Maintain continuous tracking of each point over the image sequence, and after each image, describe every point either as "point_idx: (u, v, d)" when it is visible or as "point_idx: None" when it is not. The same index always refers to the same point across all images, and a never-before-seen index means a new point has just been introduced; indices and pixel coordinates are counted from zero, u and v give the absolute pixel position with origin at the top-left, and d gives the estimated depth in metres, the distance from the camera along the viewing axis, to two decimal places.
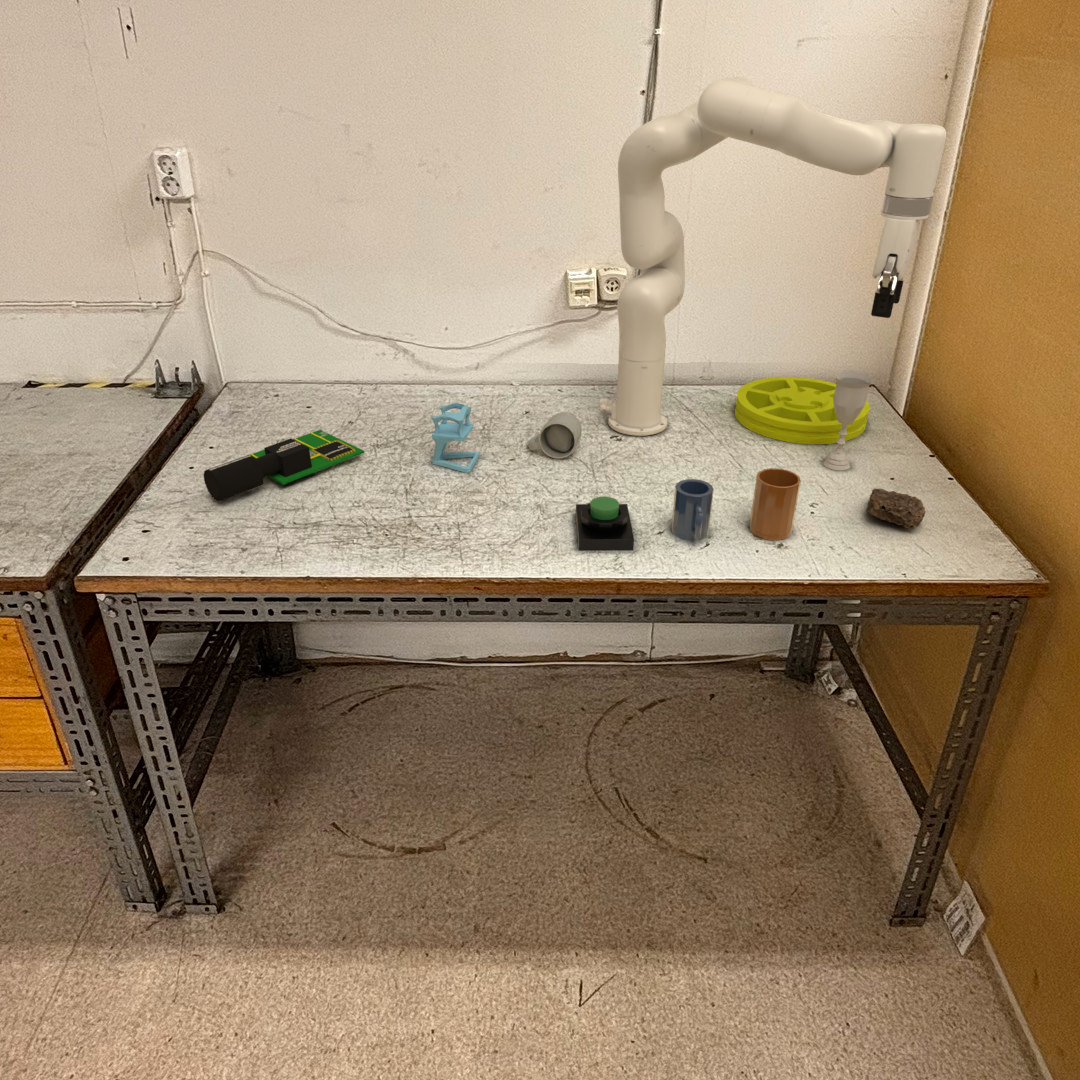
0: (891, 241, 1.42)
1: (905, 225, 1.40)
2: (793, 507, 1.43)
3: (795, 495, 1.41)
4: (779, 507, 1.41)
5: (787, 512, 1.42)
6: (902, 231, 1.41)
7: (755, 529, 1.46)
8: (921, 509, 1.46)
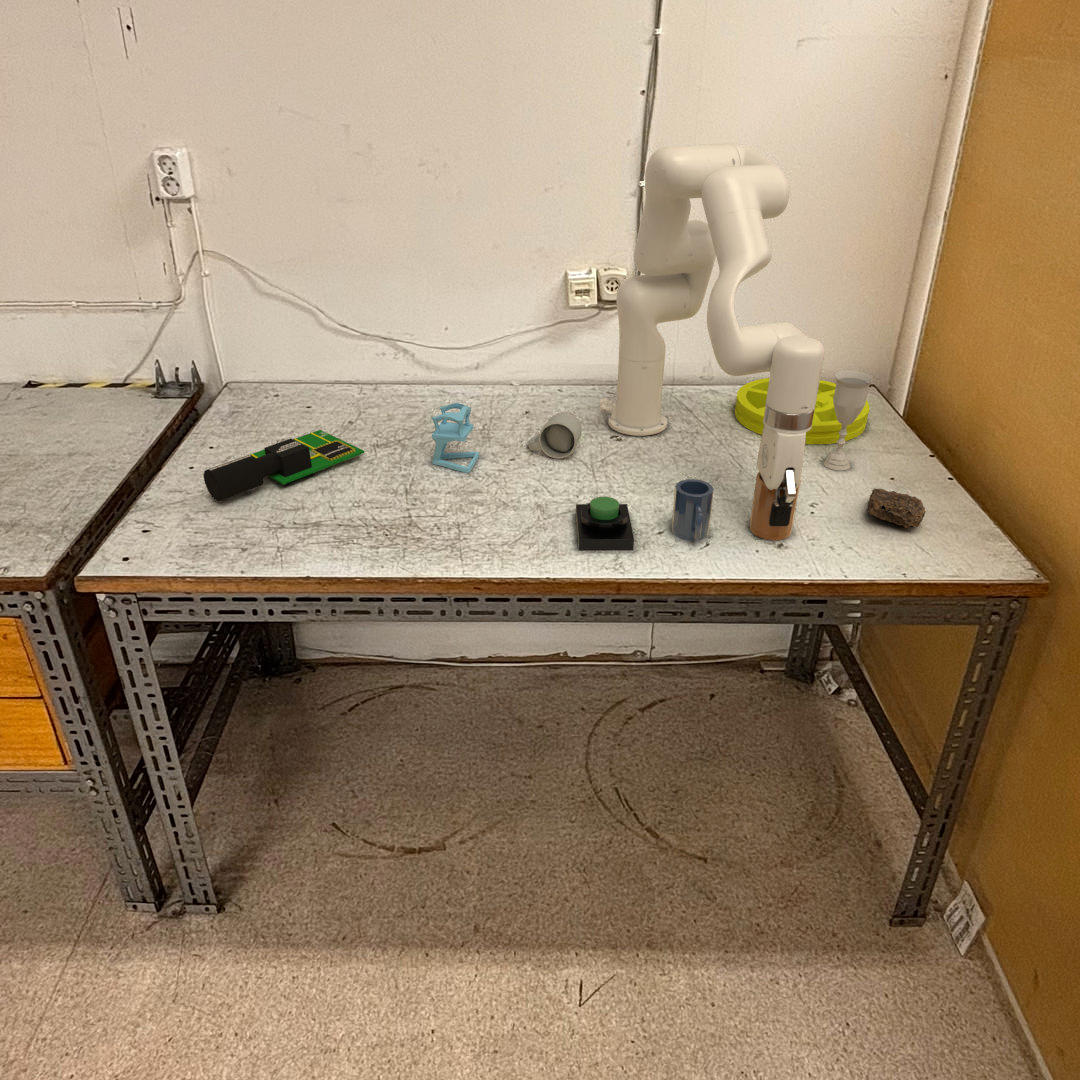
0: (787, 456, 1.35)
1: (798, 439, 1.34)
2: (793, 507, 1.43)
3: None
4: None
5: None
6: (797, 446, 1.35)
7: (755, 529, 1.46)
8: (921, 509, 1.46)
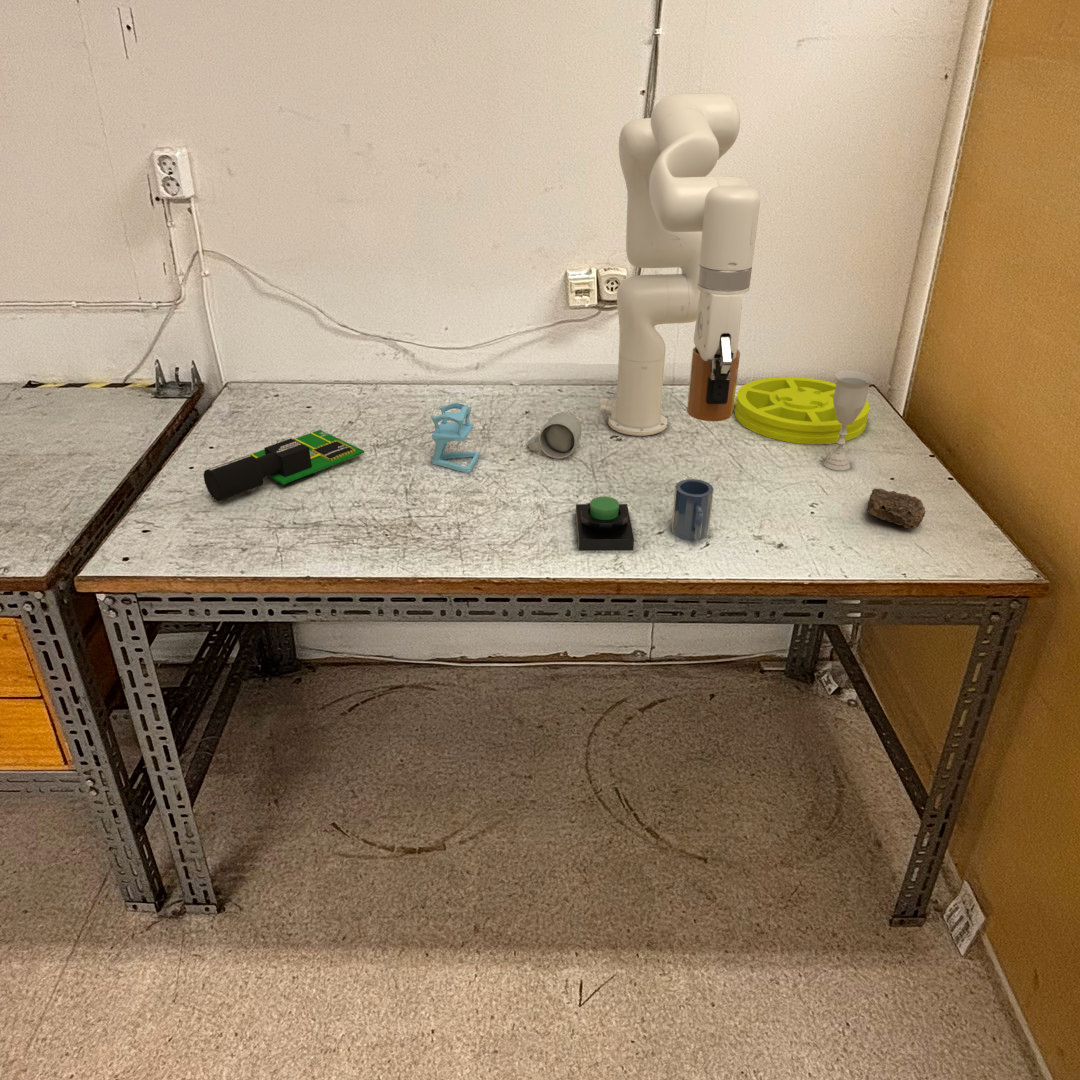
0: (722, 320, 1.23)
1: (734, 300, 1.23)
2: (732, 383, 1.31)
3: (733, 370, 1.30)
4: None
5: None
6: (732, 308, 1.23)
7: (692, 410, 1.34)
8: (921, 509, 1.46)
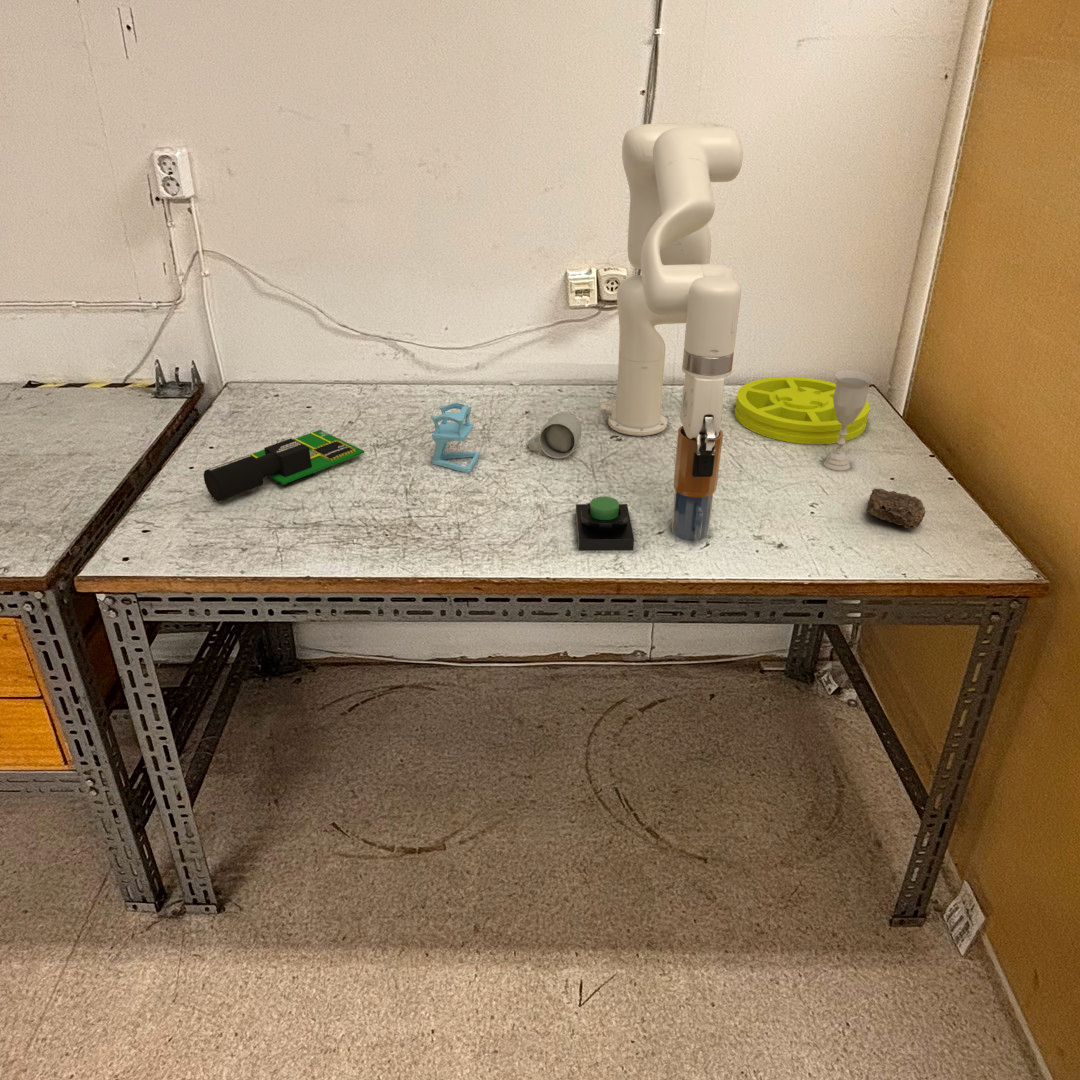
0: (705, 402, 1.30)
1: (716, 384, 1.29)
2: (715, 463, 1.38)
3: (716, 450, 1.36)
4: None
5: None
6: (715, 391, 1.29)
7: (678, 486, 1.41)
8: (921, 509, 1.46)
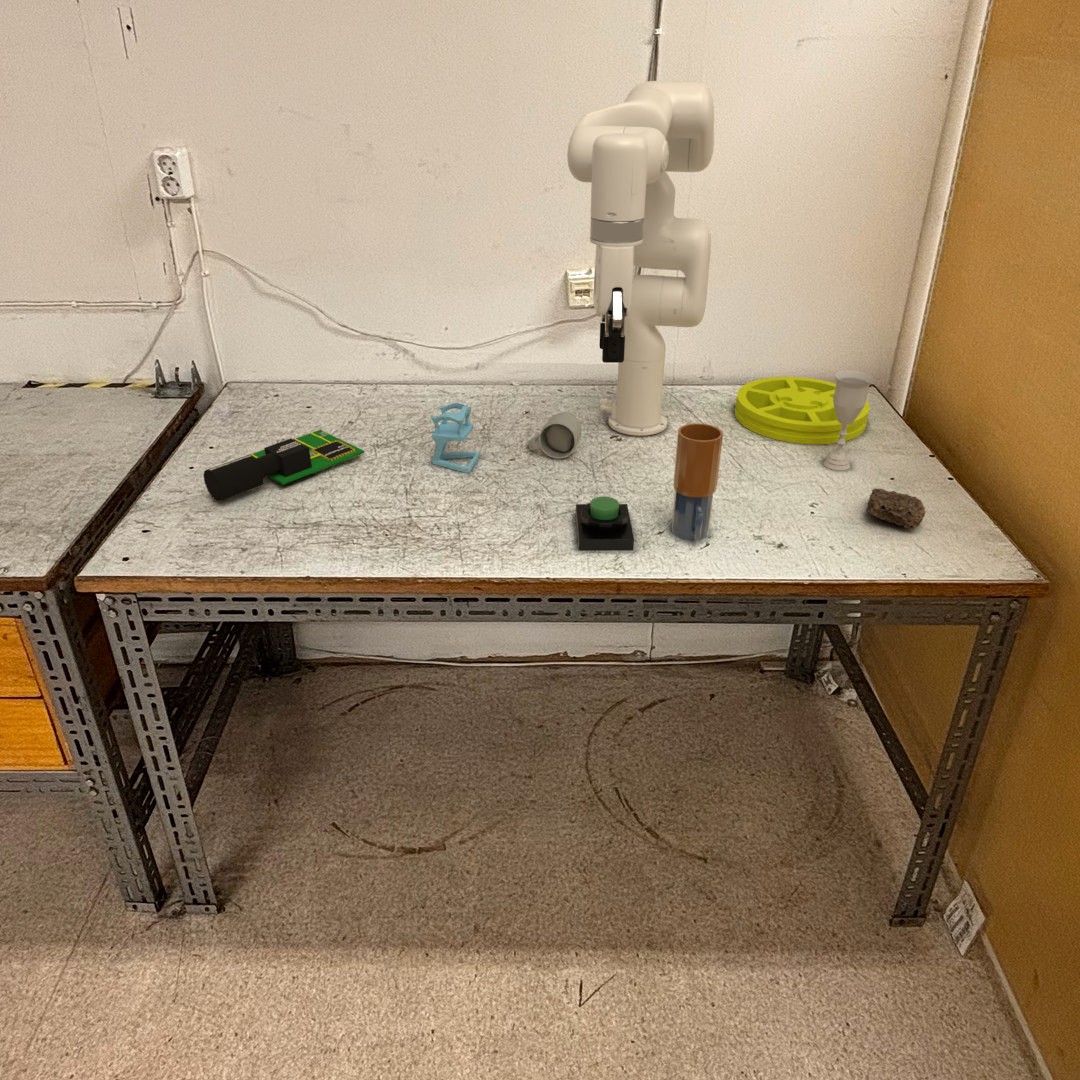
0: (613, 273, 1.20)
1: (624, 253, 1.19)
2: (715, 463, 1.38)
3: (716, 450, 1.36)
4: (700, 462, 1.36)
5: (709, 468, 1.37)
6: (623, 260, 1.19)
7: (678, 486, 1.41)
8: (921, 509, 1.46)
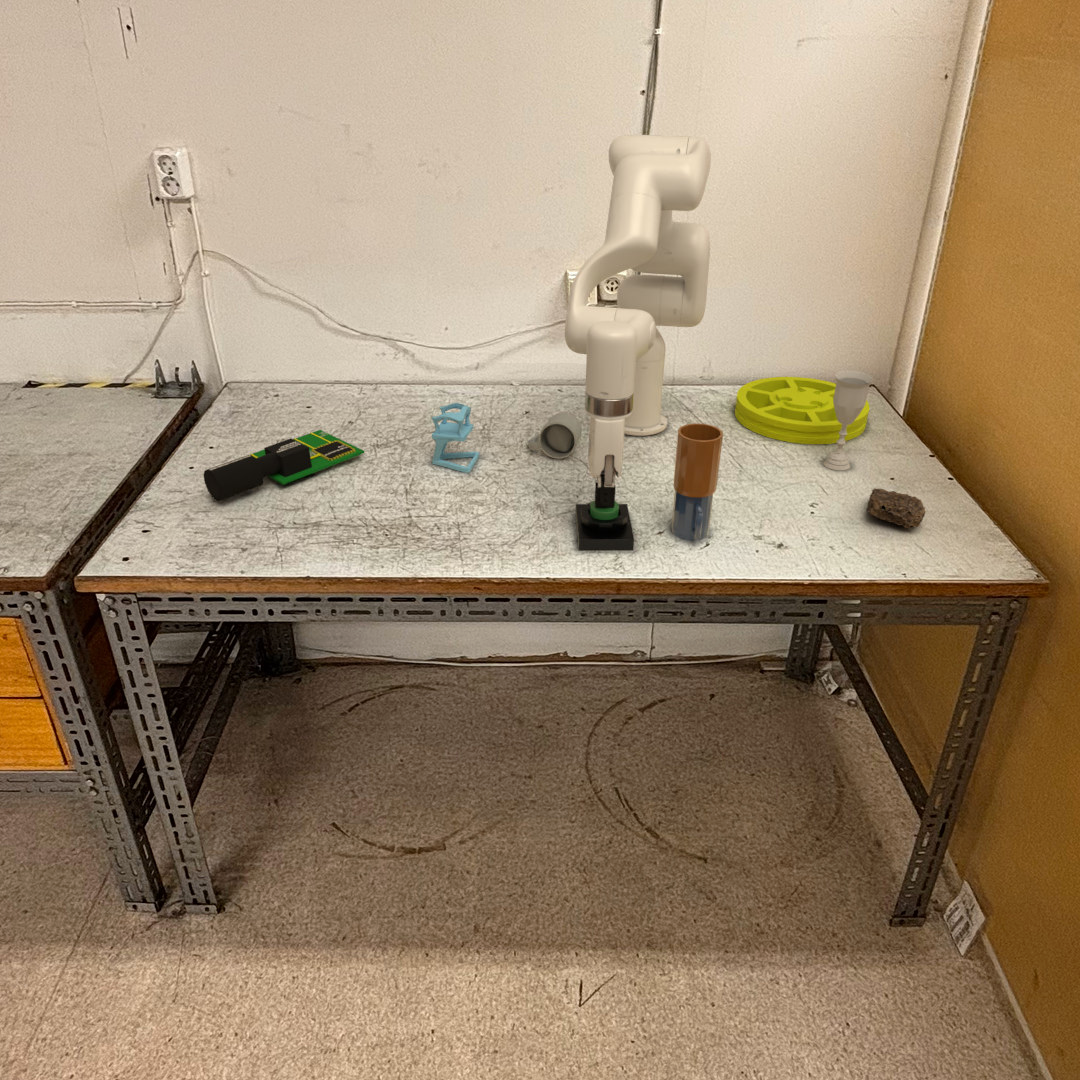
0: (605, 443, 1.33)
1: (616, 425, 1.32)
2: (715, 463, 1.38)
3: (716, 450, 1.36)
4: (700, 462, 1.36)
5: (709, 468, 1.37)
6: (614, 432, 1.32)
7: (678, 486, 1.41)
8: (921, 509, 1.46)
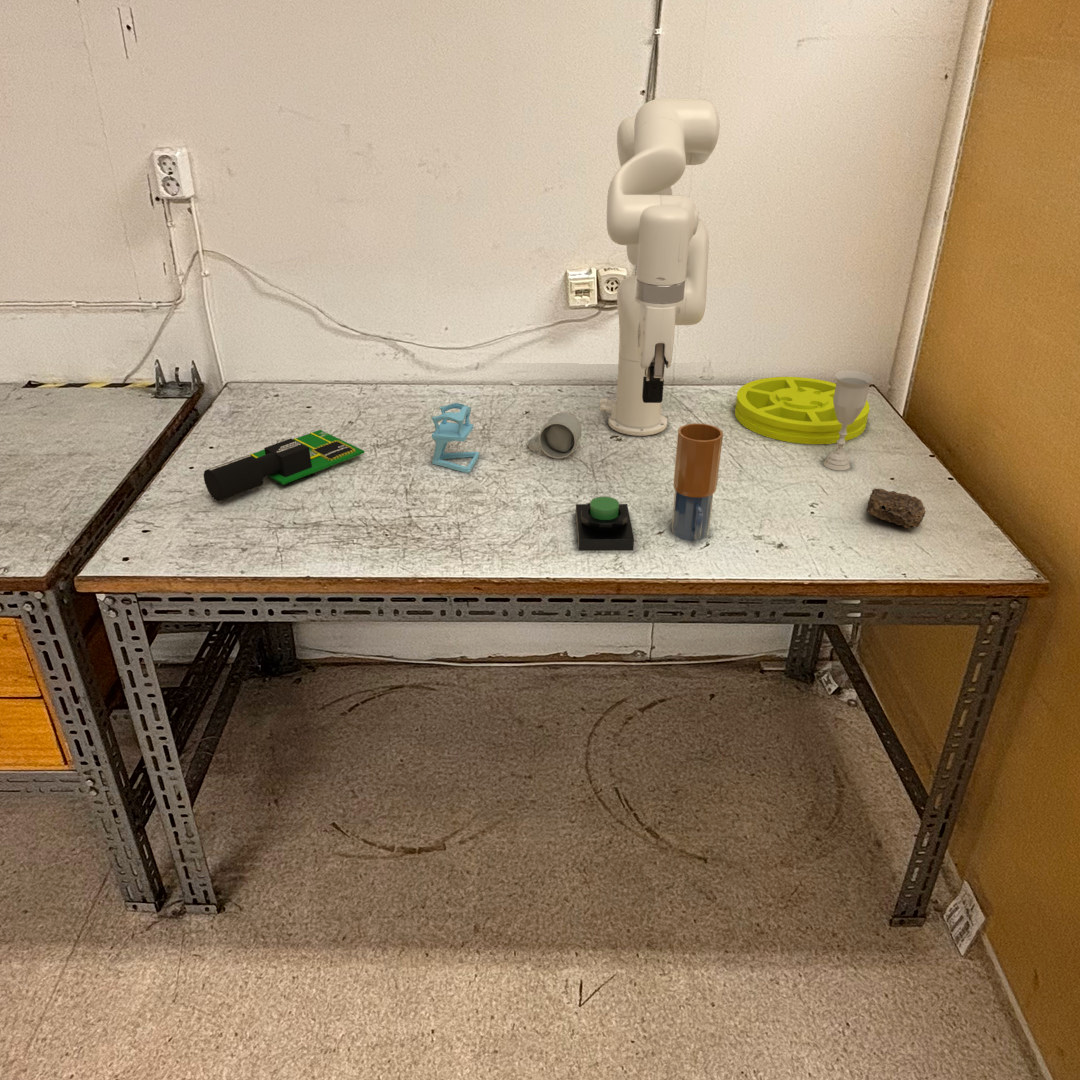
0: (656, 331, 1.32)
1: (667, 312, 1.31)
2: (715, 463, 1.38)
3: (716, 450, 1.36)
4: (700, 462, 1.36)
5: (709, 468, 1.37)
6: (666, 319, 1.31)
7: (678, 486, 1.41)
8: (921, 509, 1.46)
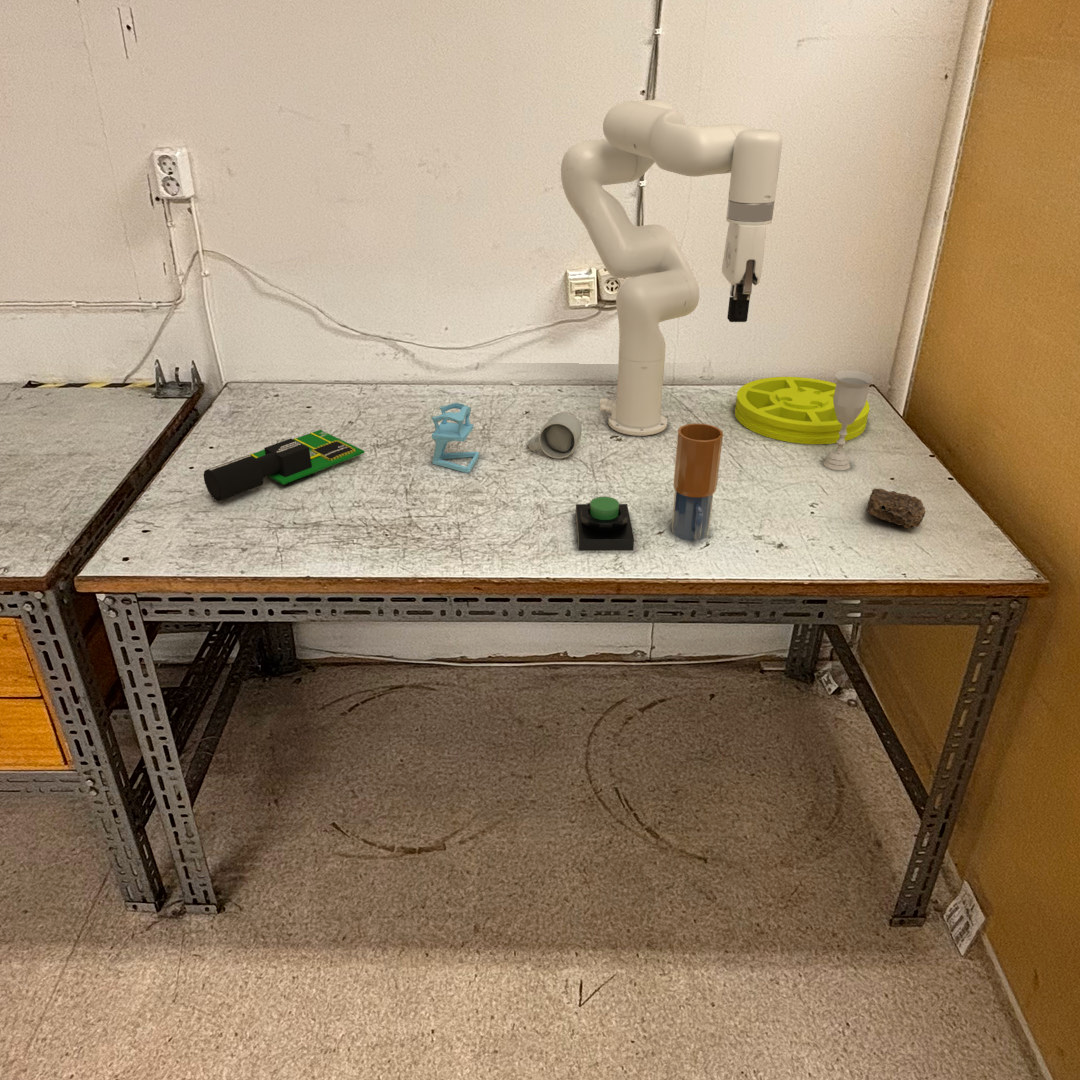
0: (748, 247, 1.42)
1: (759, 230, 1.41)
2: (715, 463, 1.38)
3: (716, 450, 1.36)
4: (700, 462, 1.36)
5: (709, 468, 1.37)
6: (757, 237, 1.41)
7: (678, 486, 1.41)
8: (921, 509, 1.46)
